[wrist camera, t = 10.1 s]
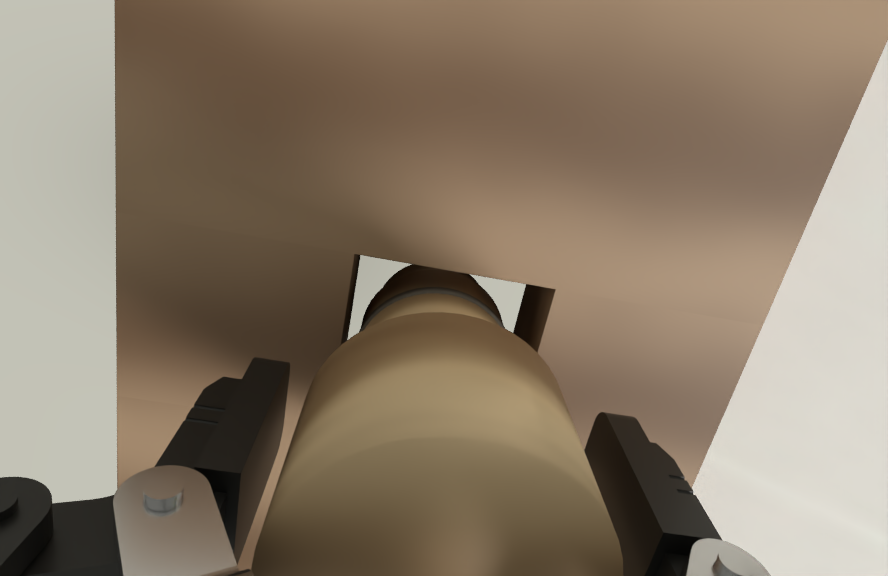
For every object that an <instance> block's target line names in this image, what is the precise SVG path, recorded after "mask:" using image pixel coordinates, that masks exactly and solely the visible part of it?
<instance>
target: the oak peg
mask: <svg viewBox="0 0 888 576" xmlns="http://www.w3.org/2000/svg"><path fill="white" fill-rule="evenodd" d="M251 571H252V572H253V574H254V576H623V557H622V552H621V548H620V543H619V539H618V537H617V534H616V532H615V529H614V526H613V524H612V521H611V519H610V516H609V514H608V511H607V508H606V506H605V503H604V501H603V498H602V495H601V493H600V490H599V488H598V485H597V483H596V480H595V477H594V475H593V472H592V470H591V467H590V465H589V462H588V459H587V457H586V454H585V452H584V449H583V447H582V444H581V441H580V439H579V436H578V434H577V431H576V428H575V426H574V423H573V421H572V418H571V416H570V413H569V410H568V408H567V405H566V403H565V400H564V398H563V395H562V392H561V390H560V387H559V385H558V382H557V380H556V378H555V376H554V375H553V373H552V371H551V370H550V368H549V366H548V365H547V364H546V362H545V361H544V360H543V359H542V357H541V356H540V355H539V354H538V353H537V352H536V351H535V350H534V349H533V348H532V347H531V346H530V345H529V344H527V343H526V342H525V341H524V340H522V339H521V338H519V337H518V336H516V335H515V334H514V333H512V332H510V331H508V330H506V329H505V327H504V326H503V323H502V319H501V315H500V313H499V310H498V308H497V306H496V304H495V303H494V301H493V299H492V298H491V297H490V296H489V294H488V293H487V292H486V291H485V290H484V289H483V288H482V287H481V286H480V285H479V284H478V283H477V282H476V280H475V279H474V278H473V277H472V276H471V275H470V274H466V273H461V272H455V271H449V270H444V269H438V268H432V267H427V266H421V265H415V264H412V265H410V266H407V267H405V268H403V269H402V270H400V271H398V272H397V273H396V274H394V275H393V276H392V277H391V278H390V279H389V280H388V281H387V282H386V284H385V285H384V287H383V288H382V289H381V290H380V291H379V292H378V293H377V294H376V295H375V296H374V298H373V299H372V300H371V302H370V304H369V305H368V307H367V309H366V312H365V314H364V317H363V322H362V326H361V329H360V331H359V333H358V334H356V335H354V336H353V337H351V338H350V339H349V340H347V341H346V342H345V343H343V344H342V345H341V346H340V347H339V348H337V349H336V350H335V351H334V352H333V353H332V354H331V355H330V356H329V357H328V359H327V360H326V361H325V362H324V364H323V365H322V366H321V368H320V369H319V370H318V372H317V374H316V376H315V377H314V379H313V381H312V383H311V385H310V387H309V390H308V393H307V395H306V398H305V401H304V404H303V407H302V410H301V413H300V416H299V419H298V422H297V425H296V428H295V431H294V434H293V437H292V440H291V443H290V446H289V449H288V452H287V455H286V458H285V461H284V464H283V467H282V470H281V473H280V476H279V479H278V482H277V485H276V488H275V491H274V494H273V497H272V500H271V503H270V506H269V509H268V512H267V515H266V518H265V521H264V524H263V527H262V530H261V533H260V536H259V539H258V542H257V545H256V548H255V551H254V557H253V562H252V567H251Z"/></svg>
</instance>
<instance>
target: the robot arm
mask: <svg viewBox="0 0 888 576" xmlns="http://www.w3.org/2000/svg"><path fill="white" fill-rule="evenodd" d="M289 375H290V363H289V362H284V361H277V360H271V359H264V358H258V357H254V358H253V359H252V361H251V363H250V365H249V367H248V369H247V370H246V372H245V374H244V376H243V378H242V379H237V378H230V377H224V376H223V377H222V378H220V379H218V380H217V381H215V382H214V383H212V384H210V385H209V386H207V387H206V388H204V389H203V391H202V393H201V394H200V396H199V397H198V399H197V401H196V402H195V404H194V407H192V408H191V410H190V412H189V413H188V415H187V416H186V419H185V421H183V423H182V424H181V426H180V427H179V429H178V430H177V432H176V434H175V435H174V437H173V438H172V440H171V441H170V443H169V445H168V446H167V448H166V449H165V451H164V452H163V454H162V456H161V457H160V459H159V460H158V462H157V463H156V465H155V467H153V468H149V469H146V470H143V471H141V472H138V473H136V474H134V475H133V476H131V477H130V478H128V479H127V480H126V481H124V482H123V483H122V484H121V485H120V487H119V488H118V489H117V491H116V493H115V495H112V496H109V497H104V498H100V499H93V500H83V501H73V502H63V503H54V504H52V496H51V493H50V491H49V489H48V488H47V487H46V486H45V485H43V484H42V483H40V482H38V481H36V480H33V479H29V478H22V477H4V478H0V576H254V574H253V572H252V571H251V570H250V569H245V570H242V571H239V568H238V566H237V565H238V562H239V559H240V557H241V554H242V551H243V548H244V545H245V543H246V540H247V537H248V534H249V531H250V529H251V526H252V523H253V520H254V517H255V515H256V512H257V509H258V506H259V503H260V501H261V498H262V495H263V492H264V490H265V487H266V484H267V481H268V478H269V476H270V473H271V470H272V467H273V464H274V462H275V459H276V456H277V453H278V450H279V446H280V442H281V437H282V432H283V426H284V418H285V410H286V401H287V392H288V384H289ZM584 452H585V454H586V457H587V459H588V462H589V465H590V467H591V470H592V472H593V475H594V477H595V480H596V483H597V485H598V488H599V490H600V493H601V495H602V498H603V501H604V503H605V506H606V508H607V511H608V514H609V516H610V519H611V521H612V524H613V526H614V529H615V532H616V534H617V537H618V539H619V543H620V548H621V552H622V557H623V576H770V574H769V573H768V571H767V570H766V569H765V568H764V566H763V565H762V564H761V563H760V562H759V561H758V560H756V559H755V558H754V557H753V556H752V555H750V554H749V553H747V552H746V551H744V550H743V549H741V548H739V547H737V546H735V545H733V544H731V543H729V542H726V541H722V539H721V537H720V536H719V534H718V532H717V531H716V529H715V527H714V525H713V524H712V522H711V520H710V519H709V517H708V515H707V514H706V512H705V510H704V509H703V507H702V505H701V504H700V502H699V500H698V499H697V497H696V495H693V490H692V488H691V487H690V485H689V483H688V482H687V481H686V480H685V477H684V475H683V473H682V472H681V470H680V468H679V467H678V465H677V463H676V462H675V460H674V459H673V458H672V457H671V456H670V455H669V454H668V453H667V452H666V451H664V450H663V449H662V448H661V447H660V446H659V445H658V444H657V443H653V442H650V441H649V439H648V438H647V436H646V434H645V432H644V430H643V429H642V427H641V425H640V423H639V422H638V420H637V419H636V418H635V417H632V416H625V415H619V414H612V413H606V412H600V413H599V414H598V415H597V417H596V418H595V421H594V424H593V426H592V429H591V432H590V435H589V438H588V441H587V444H586V447H585V450H584Z"/></svg>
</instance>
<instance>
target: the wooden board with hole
mask: <svg viewBox="0 0 888 576" xmlns="http://www.w3.org/2000/svg"><path fill="white" fill-rule="evenodd" d="M887 40H888V0H115V130H116V132H115V133H116V135H115V137H116V303H117V304H116V309H117V310H116V312H117V313H116V314H117V481H118V482H117V488H119V487H120V485H121V484H122V483H123V482H124V481H126V480H127V479H128V478H130V477H131V476H133V475H134V474H136V473H138V472H141V471H143V470H146V469H149V468H153V467H155V465H156V463H157V462H158V460H159V459H160V457H161V456H162V454H163V452H164V451H165V449H166V448H167V446H168V445H169V443H170V441H171V440H172V438H173V437H174V435H175V434H176V432H177V430H178V429H179V427H180V426H181V424H182V423H183V421H185V419H186V416H187V415H188V413H189V412H190V410H191V408H192V407H194V404H195V402H196V401H197V399H198V397H199V396H200V394H201V393H202V391H203V389H204V388H206V387H207V386H209V385H210V384H212V383H214V382H215V381H217V380H218V379H220V378H222V377H223V376H224V377H230V378H237V379H242V378H243V376H244V374H245V372H246V370H247V369H248V367H249V365H250V363H251V361H252V359H253V358H254V357H258V358H264V359H271V360H277V361H284V362H289V363H290V375H289V384H288V392H287V401H286V410H285V418H284V426H283V432H282V437H281V442H280V446H279V450H278V453H277V456H276V459H275V462H274V464H273V467H272V470H271V473H270V476H269V478H268V481H267V484H266V487H265V490H264V492H263V495H262V498H261V501H260V503H259V506H258V509H257V512H256V515H255V517H254V520H253V523H252V526H251V529H250V531H249V534H248V537H247V540H246V543H245V545H244V548H243V551H242V554H241V557H240V559H239V562H238V565H237V566H238V568H239V571H242V570H245V569H250V570H251V567H252V562H253V557H254V551H255V548H256V545H257V542H258V539H259V536H260V533H261V530H262V527H263V524H264V521H265V518H266V515H267V512H268V509H269V506H270V503H271V500H272V497H273V494H274V491H275V488H276V485H277V482H278V479H279V476H280V473H281V470H282V467H283V464H284V461H285V458H286V455H287V452H288V449H289V446H290V443H291V440H292V437H293V434H294V431H295V428H296V425H297V422H298V419H299V416H300V413H301V410H302V407H303V404H304V401H305V398H306V395H307V393H308V390H309V387H310V385H311V383H312V381H313V379H314V377H315V376H316V374H317V372H318V370H319V369H320V368H321V366H322V365H323V364H324V362H325V361H326V360H327V359H328V357H329V356H330V355H331V354H332V353H333V352H334V351H335V350H336V349H337V348H339V347H340V346H341V345H342V344H343V343H345V342H346V341H347V338H348V331H349V325H350V319H351V311H352V306H353V299H354V292H355V286H356V280H357V273H358V267H359V260H360V255H364V256H370V257H375V258H381V259H387V260H392V261H398V262H404V263H410V264H415V265H421V266H427V267H432V268H438V269H444V270H449V271H455V272H461V273H466V274H472V275H478V276H483V277H489V278H495V279H501V280H506V281H512V282H518V283H523V284H526V288H525V291H524V295H523V299H522V302H521V306H520V310H519V313H518V317H517V321H516V325H515V328H514V332H513V333H514V334H515V335H516V336H518V337H519V338H521V339H522V340H524V341H525V342H526V343H527V344H529V345H530V346H531V347H532V348H533V349H534V350H535V351H536V352H537V353H538V354H539V355H540V356H541V357H542V359H543V360H544V361H545V362H546V364H547V365H548V366H549V368H550V370H551V371H552V373H553V375H554V376H555V378H556V380H557V382H558V385H559V387H560V390H561V392H562V395H563V398H564V400H565V403H566V405H567V408H568V410H569V413H570V416H571V418H572V421H573V423H574V426H575V428H576V431H577V434H578V436H579V439H580V441H581V444H582V447H583V449H584V450H585V447H586V444H587V441H588V438H589V435H590V432H591V429H592V426H593V424H594V421H595V418H596V417H597V415H598V414H599V413H600V412H606V413H612V414H619V415H625V416H632V417H635V418H636V419H637V420H638V422H639V423H640V425H641V427H642V429H643V430H644V432H645V434H646V436H647V438H648V439H649V441H650V442H653V443H657V444H658V445H659V446H660V447H661V448H662V449H663V450H664V451H666V452H667V453H668V454H669V455H670V456H671V457H672V458H673V459H674V460H675V462H676V463H677V465H678V467H679V468H680V470H681V472H682V473H683V475H684V477H685V480H686V481H687V482H688V483H689V485H690V487H691V488H692V486H693V483H694V481H695V479H696V477H697V474H698V472H699V470H700V467H701V465H702V463H703V461H704V458H705V456H706V454H707V451H708V449H709V447H710V445H711V442H712V440H713V438H714V435H715V433H716V431H717V429H718V426H719V424H720V422H721V419H722V417H723V415H724V413H725V410H726V408H727V406H728V403H729V401H730V399H731V397H732V394H733V392H734V390H735V387H736V385H737V383H738V381H739V378H740V376H741V374H742V371H743V369H744V367H745V365H746V362H747V360H748V358H749V355H750V353H751V351H752V349H753V346H754V344H755V342H756V339H757V337H758V335H759V333H760V330H761V328H762V326H763V323H764V321H765V319H766V317H767V314H768V312H769V310H770V307H771V305H772V303H773V301H774V298H775V296H776V294H777V291H778V289H779V287H780V285H781V282H782V280H783V278H784V275H785V273H786V271H787V269H788V266H789V264H790V262H791V259H792V257H793V255H794V253H795V250H796V248H797V246H798V243H799V241H800V239H801V237H802V234H803V232H804V230H805V227H806V225H807V223H808V221H809V218H810V216H811V214H812V211H813V209H814V207H815V205H816V202H817V200H818V198H819V195H820V193H821V191H822V189H823V186H824V184H825V182H826V179H827V177H828V175H829V173H830V170H831V168H832V166H833V163H834V161H835V159H836V157H837V154H838V152H839V150H840V147H841V145H842V143H843V141H844V138H845V136H846V134H847V131H848V129H849V127H850V125H851V122H852V120H853V118H854V115H855V113H856V111H857V109H858V106H859V104H860V102H861V99H862V97H863V95H864V93H865V90H866V88H867V86H868V83H869V81H870V79H871V77H872V74H873V72H874V70H875V67H876V65H877V63H878V61H879V58H880V56H881V54H882V51H883V49H884V47H885V45H886V42H887Z"/></svg>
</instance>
